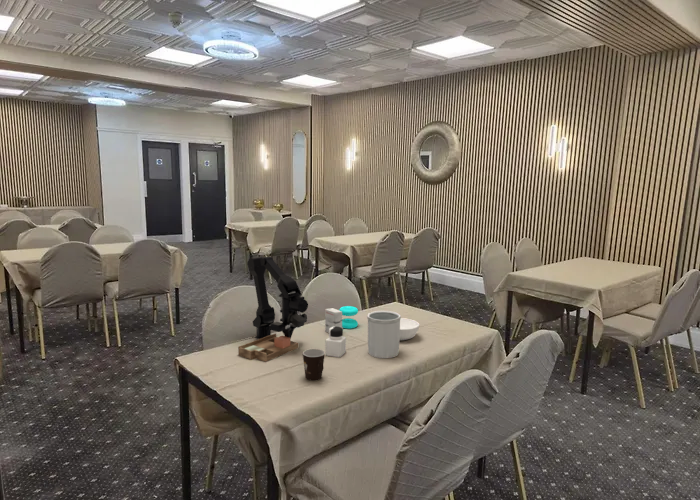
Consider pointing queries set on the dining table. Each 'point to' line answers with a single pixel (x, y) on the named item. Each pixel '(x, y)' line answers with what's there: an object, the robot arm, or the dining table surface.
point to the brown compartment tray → (264, 349)
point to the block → (282, 341)
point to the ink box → (332, 318)
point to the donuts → (349, 322)
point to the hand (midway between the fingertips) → (288, 341)
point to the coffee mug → (313, 363)
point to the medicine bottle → (335, 342)
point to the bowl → (408, 328)
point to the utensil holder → (383, 334)
